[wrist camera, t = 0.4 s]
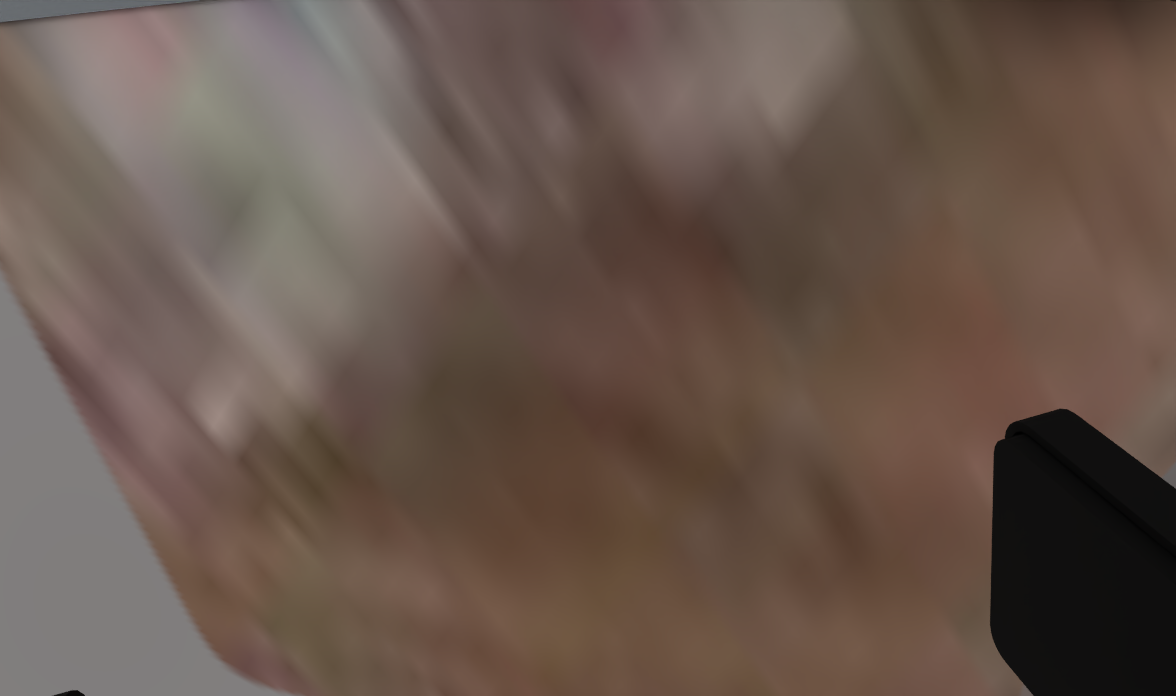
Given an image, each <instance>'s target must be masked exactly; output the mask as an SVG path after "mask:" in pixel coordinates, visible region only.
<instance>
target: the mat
mask: <svg viewBox="0 0 1176 696" xmlns="http://www.w3.org/2000/svg"><path fill="white" fill-rule="evenodd" d="M189 1H198V0H0V22H6V21H15V20H24V19H33V18H42V17H51V16H61V15H70V14H79V13H88V12H97V11H106V10H116V9H125V8H134V7H143V6H152V5H161V4H170V3H180V2H189Z"/></svg>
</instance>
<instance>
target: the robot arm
mask: <svg viewBox="0 0 1176 696" xmlns="http://www.w3.org/2000/svg"><path fill="white" fill-rule="evenodd" d="M990 627H991V633H992V637H993V640H994V643H995V645H996V647H997V649H998V651H999V653H1000V655H1001V656H1002V658H1003V659H1004V660H1005V662H1006V663H1007V664H1008V665H1009V667H1010V668H1011V669H1012V670H1013V671H1014V673H1015V674H1016V675H1017V676H1018V677H1019V679H1020V680H1021V681H1022V682H1023V683H1024V685H1025V686H1026V687H1027V688H1028V689H1029V691H1030V692H1031V693H1032V694H1033V695H1034V696H1176V489H1175V488H1174V487H1173V486H1171V485H1170V484H1169V483H1167V482H1166V481H1165V480H1163V479H1162V478H1161V477H1159V476H1158V475H1157V474H1155V473H1154V472H1153V471H1151V470H1150V469H1149V468H1147V467H1146V466H1145V465H1143V464H1142V463H1141V462H1139V461H1138V460H1137V459H1135V458H1134V457H1133V456H1131V455H1130V454H1129V453H1127V452H1126V451H1125V450H1123V449H1122V448H1121V447H1119V446H1118V445H1117V444H1115V443H1114V442H1113V441H1111V440H1110V439H1109V438H1107V437H1106V436H1105V435H1103V434H1102V433H1101V432H1099V431H1098V430H1096V429H1095V428H1094V427H1092V426H1091V425H1090V424H1088V423H1087V422H1086V421H1084V420H1083V419H1082V418H1080V417H1079V416H1078V415H1076V414H1075V413H1073V412H1071V411H1069V410H1068V409H1058V410H1054V411H1051V412H1047V413H1044V414H1040V415H1037V416H1033V417H1030V418H1026V419H1023V420H1019V421H1016V422H1013V423H1012V424H1010V425H1009V427H1008V428H1007V430H1006V434H1005V439H1003V440H1000V441H998V442H997V444H996V445H995V449H994V471H993V517H992V563H991V609H990ZM54 696H85V695H84V694H82V693H81V692H79V691H78V690H73V691H68V692H64V693H61V694H57V695H54Z"/></svg>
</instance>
